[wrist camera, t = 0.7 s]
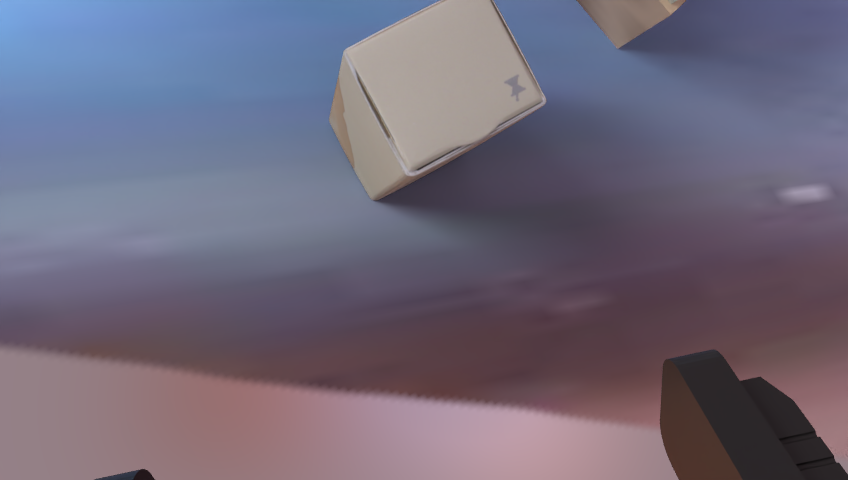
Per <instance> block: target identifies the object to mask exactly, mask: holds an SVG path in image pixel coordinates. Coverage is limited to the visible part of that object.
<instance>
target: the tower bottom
mask: <svg viewBox="0 0 848 480" xmlns="http://www.w3.org/2000/svg"><path fill="white" fill-rule="evenodd" d="M577 1H578V3H579V4H580V5H581V6H582V7H583V9H584V10H585V11H586V12H587V13H588V14H589V16H590V17H591V18H592V19H593V20H594V22H595V23H596V24H597V25H598V26H599V27H600V29H601V30H602V31H603V32H604V33H605V35H606V36H607V37H608V38H609V39H610V40H611V42H612V43H613V44H614V45H615V46H616V48H617V49H618V48H620V47H621V46H623V45H625V44H626V43H628V42H629V41H631V40H632V39H634V38H636V37H637V36H639V35H640V34H642V33H643V32H645V31H647V30H648V29H650V28H651V27H653V26H654V25H656V24H658V23H659V22H661V21H662V20H664V19H665V18H667V17H669V16H670V15H672V14H673V13H674V12H675V11H676V10H677V9H678V8H679V7H680V6H681V5H682V4H683V3H684V2H685V1H686V0H677V1H675V2H674V3H672V4H671V3H670V2H669V1H668V0H577Z"/></svg>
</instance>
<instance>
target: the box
mask: <svg viewBox="0 0 848 480" xmlns="http://www.w3.org/2000/svg"><path fill="white" fill-rule="evenodd" d="M545 103H546V97H545V96H544V94H543V92H542V90H541V88H540V86H539V84H538V82H537V80H536V78H535V76H534V74H533V72H532V70H531V68H530V66H529V64H528V62H527V60H526V59H525V57H524V55H523V53H522V51H521V49H520V47H519V45H518V44H517V42H516V40H515V38H514V36H513V34H512V32H511V31H510V29H509V27H508V25H507V23H506V21H505V20H504V18H503V16H502V14H501V12H500V11H499V9H498V7H497V6H496V4H495V2H494V0H440V1H438V2H436V3H434V4H432V5H430V6H428V7H426V8H424V9H422V10H420V11H418V12H416V13H414V14H412V15H410V16H408V17H406V18H404V19H402V20H400V21H398V22H396V23H394V24H392V25H391V26H388V27H386V28H384V29H382V30H380V31H379V32H377V33H375V34H373V35H371V36H369V37H367V38H365V39H364V40H362V41H360V42H358V43H356V44H354V45H352V46H350V47H348V48H347V49H345V50H344V52H343V57H342V62H341V66H340V71H339V76H338V80H337V85H336V89H335V94H334V98H333V103H332V108H331V112H330V117H329V122H330V124H331V126H332V128H333V130H334V132H335V134H336V136H337V138H338V140H339V142H340V144H341V146H342V148H343V150H344V152H345V154H346V156H347V157H348V159H349V161H350V163H351V165H352V167H353V169H354V171H355V172H356V174H357V176H358V178H359V180H360V181H361V183H362V185H363V187H364V188H365V190H366V192H367V194H368V195H369V197H370V199H371V200H374V201H375V200H379V199H381V198H383V197H385V196H387V195H389V194H391V193H393V192H395V191H397V190H399V189H401V188H403V187H405V186H407V185H409V184H410V183H412V182H414V181H416V180H418V179H420V178H422V177H423V176H425V175H427V174H429V173H431V172H433V171H434V170H436V169H438V168H440V167H442V166H443V165H445V164H447V163H449V162H450V161H452V160H454V159H456V158H457V157H459V156H461V155H462V154H464V153H466V152H468V151H470V150H471V149H473V148H475V147H476V146H478V145H480V144H482V143H483V142H485V141H487V140H488V139H490V138H492V137H493V136H495V135H497V134H498V133H500V132H502V131H503V130H505V129H507V128H508V127H510V126H512V125H514V124H515V123H517V122H519V121H520V120H522V119H523V118H525V117H527V116H528V115H530V114H531V113H533V112H534V111H536V110H538V109H539V108H541V107H542V106H544V105H545Z"/></svg>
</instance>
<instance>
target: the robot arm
mask: <svg viewBox="0 0 848 480" xmlns="http://www.w3.org/2000/svg"><path fill="white" fill-rule="evenodd" d="M660 428H661V435H662V439H663V443H664V446H665V450H666V453H667V455H668V458H669V460H670V462H671V464H672V467H673V468H674V470H675V473H676V475H677V477H678V479H679V480H848V474H847V473H846V472H845V470H844V469H843V468H842V466H841V465H840V463H836V461H835V459H834V455H833V454H832V453H831V451H830V450H829V448H828V447H827V446H826V444H825V443H824V442H823V440H822V439H821V438H820V437H817V435H816V432H815V429H814V428H813V427H812V425H811V424H810V423H809V421H808V420H807V418H806V417H805V416H804V414H803V413H802V412H801V410H800V409H799V408H798V406H797V405H796V403H795V402H794V401H793V400H792V399H791V398H789V397H788V396H787V395H785V394H784V393H782V392H781V391H779V390H778V389H777V388H775V387H774V386H772V385H771V384H770V383H768V382H767V381H765V380H764V379H763V378H761V377H757V378H752V379H748V380H743V381H739V379H738V378H737V376H736V375H735V373H734V372H733V370H732V369H731V367H730V366H729V364H728V363H727V361H726V360H725V359H724V357H723V356H722V355H721V354H720V353H719V352H718V351H716V350H708V351H703V352H699V353H694V354H689V355H685V356H680V357H675V358H671V359H666V360H665V361H664V364H663V374H662V393H661V413H660ZM95 480H155V479H154V478H153V477H152V475H151V474H150V472H148V471H147V470H145V469H141V470H136V471H131V472H127V473H122V474H117V475H113V476H108V477H103V478H99V479H95Z"/></svg>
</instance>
